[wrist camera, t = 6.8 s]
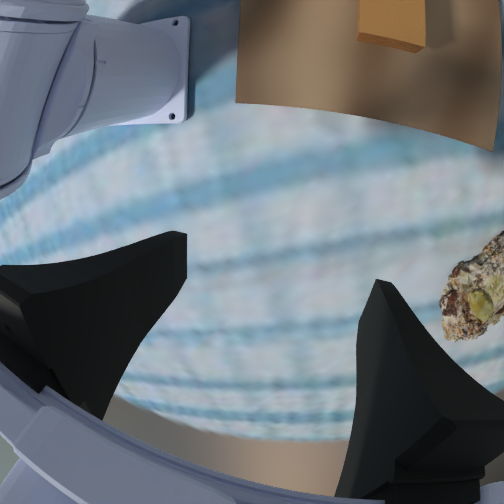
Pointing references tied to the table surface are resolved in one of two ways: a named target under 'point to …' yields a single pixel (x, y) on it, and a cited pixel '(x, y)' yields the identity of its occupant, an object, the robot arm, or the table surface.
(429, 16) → the base
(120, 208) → the table surface
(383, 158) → the table surface
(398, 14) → the press lever
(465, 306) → the mineral rock
